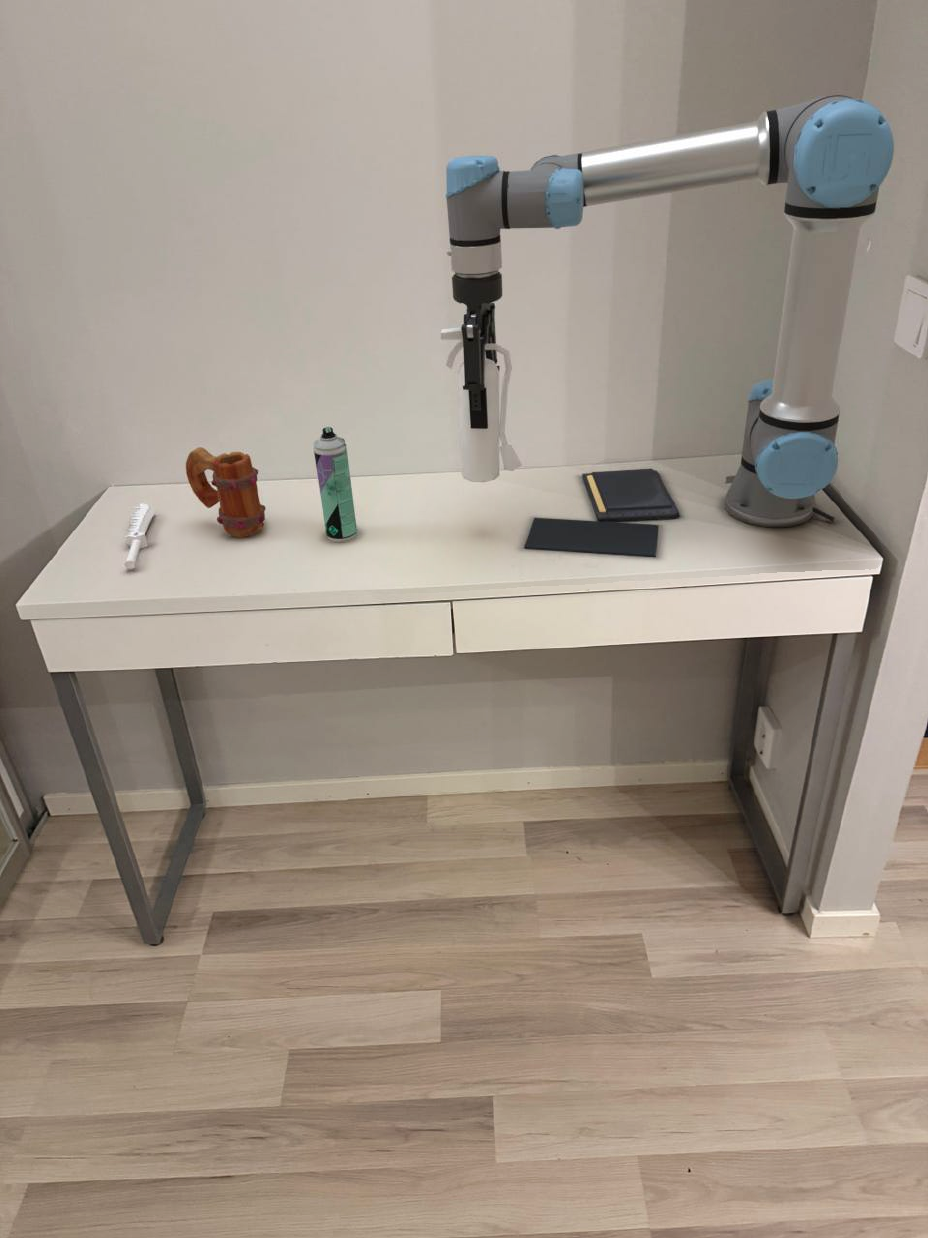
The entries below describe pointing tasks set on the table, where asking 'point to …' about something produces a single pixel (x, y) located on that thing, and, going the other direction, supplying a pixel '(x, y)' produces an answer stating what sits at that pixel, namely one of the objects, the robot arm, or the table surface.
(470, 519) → the table surface
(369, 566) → the table surface
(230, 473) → the mug
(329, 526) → the spray can
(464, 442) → the fire extinguisher
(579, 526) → the mat
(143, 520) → the toy saw sword
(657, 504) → the wallet
